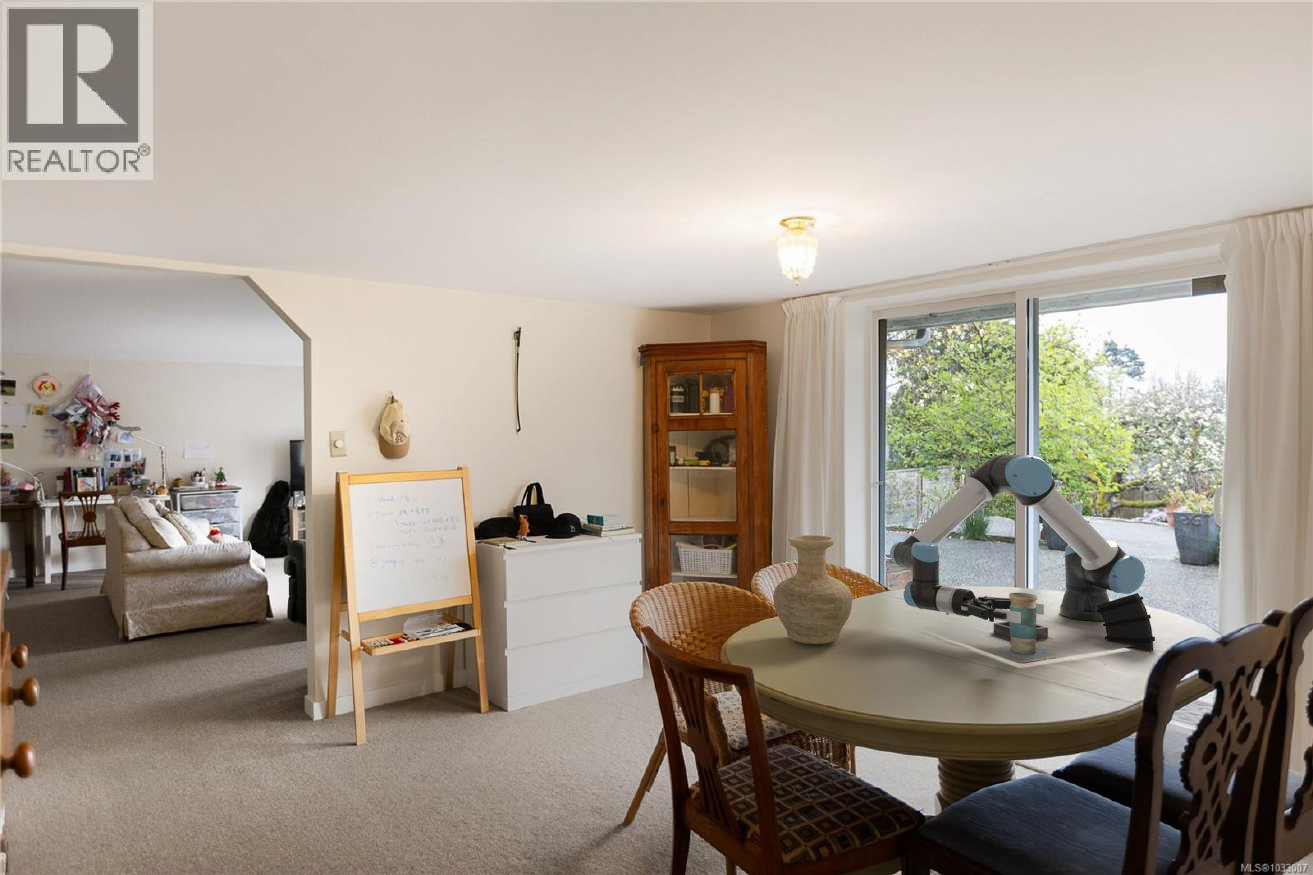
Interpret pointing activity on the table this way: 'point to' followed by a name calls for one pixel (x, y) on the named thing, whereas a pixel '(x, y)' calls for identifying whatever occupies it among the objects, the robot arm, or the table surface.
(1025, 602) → the disc
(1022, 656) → the rubber mat
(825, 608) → the vase
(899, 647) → the table surface
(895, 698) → the table surface
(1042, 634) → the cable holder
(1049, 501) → the robot arm
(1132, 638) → the magazine
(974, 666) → the table surface
